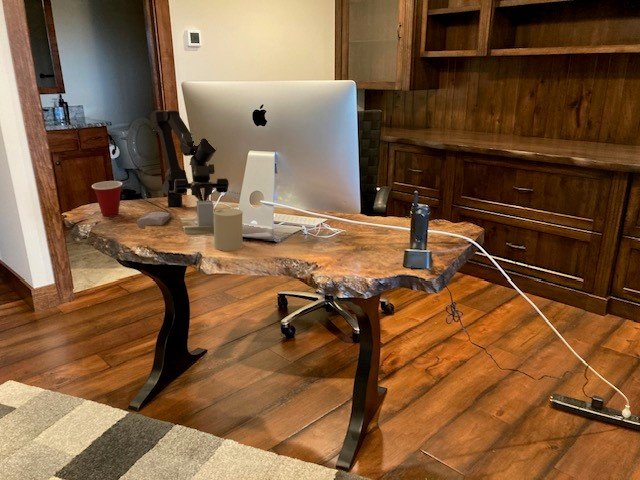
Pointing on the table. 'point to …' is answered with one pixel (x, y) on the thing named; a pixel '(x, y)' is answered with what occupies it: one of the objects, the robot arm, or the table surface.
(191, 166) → the robot arm
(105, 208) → the plastic cup
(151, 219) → the stone block
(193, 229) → the trap board
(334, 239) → the table surface
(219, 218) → the can
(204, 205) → the slate block
